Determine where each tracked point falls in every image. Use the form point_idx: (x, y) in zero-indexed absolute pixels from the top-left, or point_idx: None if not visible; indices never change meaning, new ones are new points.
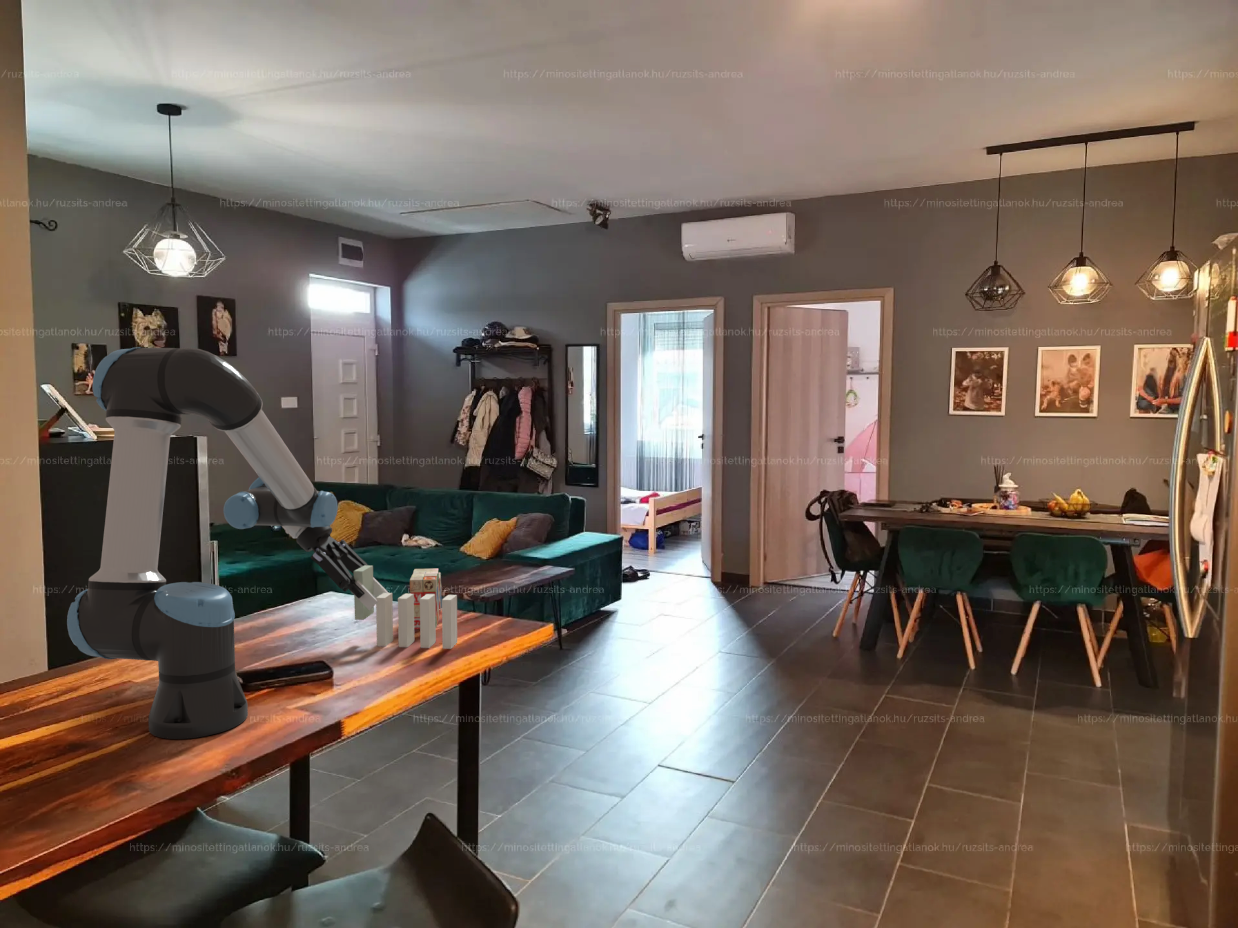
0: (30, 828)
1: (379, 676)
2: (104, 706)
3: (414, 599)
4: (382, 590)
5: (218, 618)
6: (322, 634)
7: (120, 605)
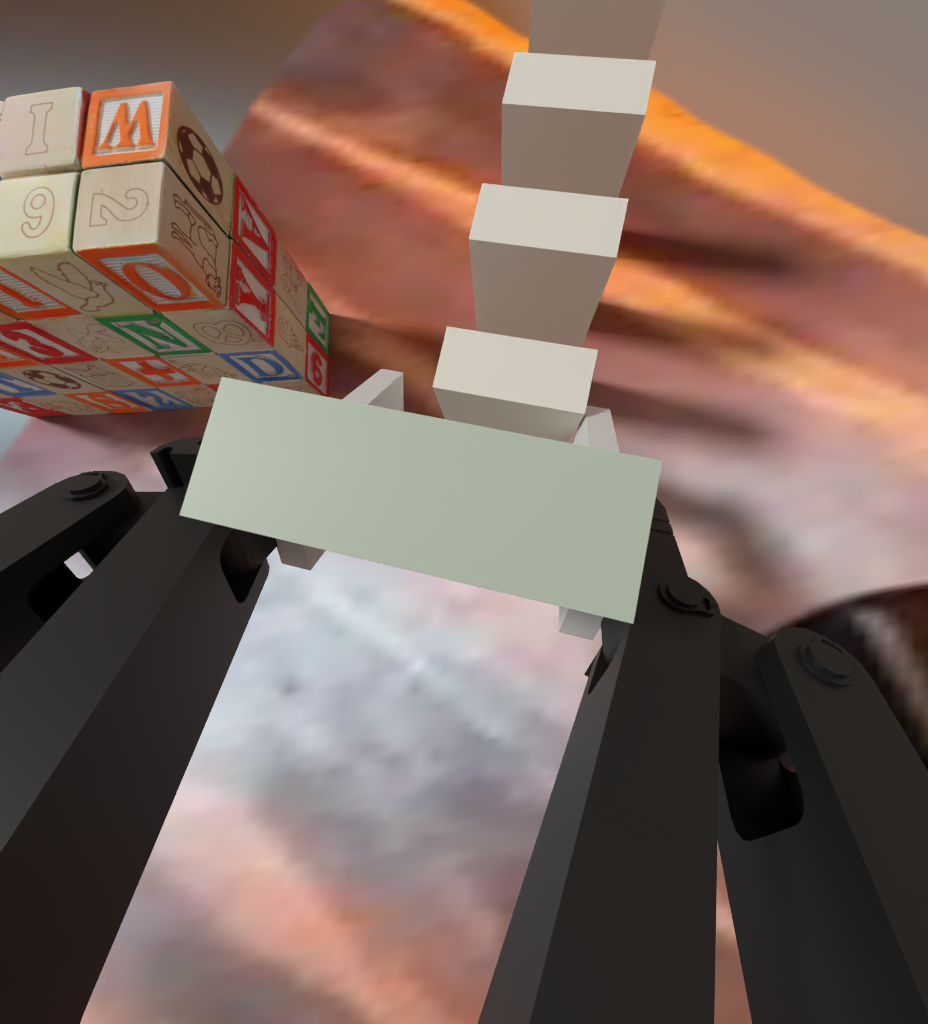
0: None
1: (924, 413)
2: None
3: (255, 312)
4: (385, 401)
5: None
6: (355, 733)
7: None
